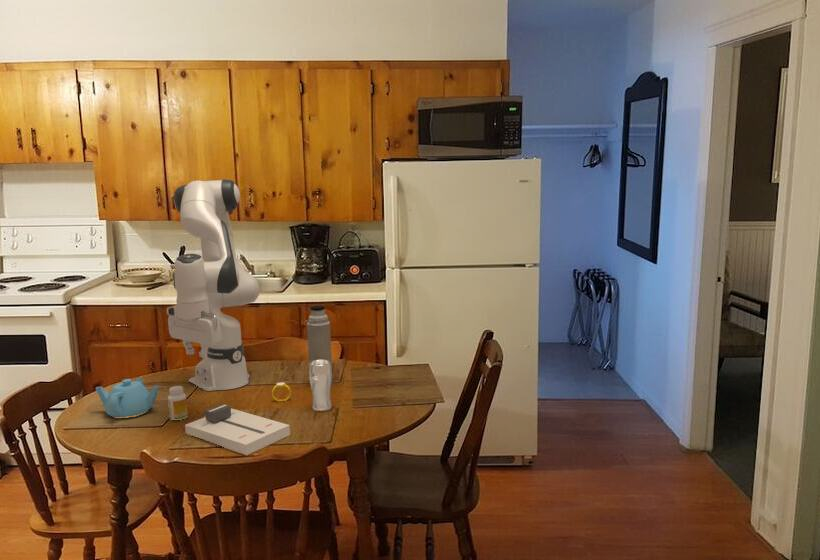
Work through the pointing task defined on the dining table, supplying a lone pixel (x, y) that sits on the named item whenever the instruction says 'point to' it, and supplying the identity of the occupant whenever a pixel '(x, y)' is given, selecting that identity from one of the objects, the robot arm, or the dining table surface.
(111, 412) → the teapot
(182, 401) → the supplement bottle
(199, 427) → the fader console
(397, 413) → the dining table surface
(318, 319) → the thermos bottle
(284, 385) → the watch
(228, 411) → the fader knob
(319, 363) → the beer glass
